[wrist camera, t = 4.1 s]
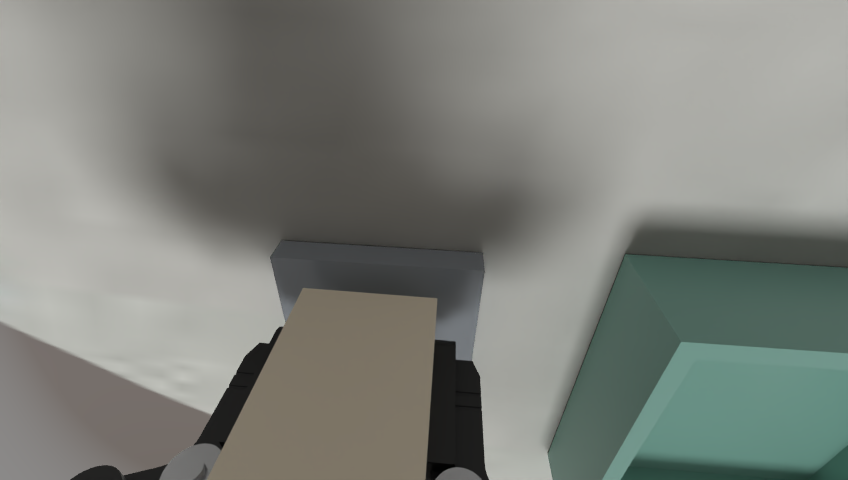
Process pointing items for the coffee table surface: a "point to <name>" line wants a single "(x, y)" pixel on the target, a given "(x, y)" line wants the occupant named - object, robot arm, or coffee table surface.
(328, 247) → the slate board
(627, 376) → the green bin
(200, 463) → the robot arm
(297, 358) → the block
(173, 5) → the coffee table surface
